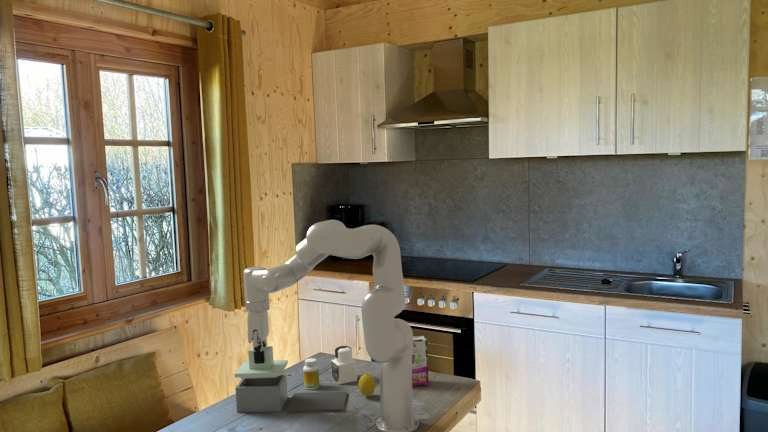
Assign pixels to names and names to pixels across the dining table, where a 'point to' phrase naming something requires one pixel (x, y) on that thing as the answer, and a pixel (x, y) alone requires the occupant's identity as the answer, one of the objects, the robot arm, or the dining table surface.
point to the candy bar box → (419, 361)
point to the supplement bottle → (311, 374)
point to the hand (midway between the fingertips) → (261, 360)
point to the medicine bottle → (344, 366)
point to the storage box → (261, 394)
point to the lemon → (366, 384)
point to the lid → (261, 366)
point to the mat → (317, 402)
